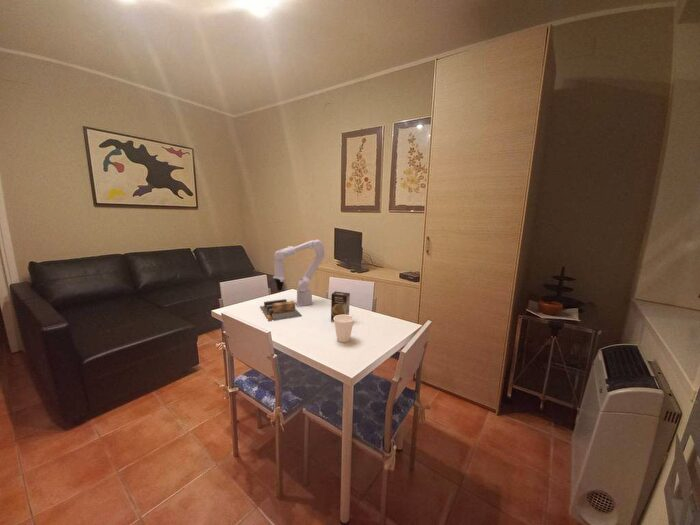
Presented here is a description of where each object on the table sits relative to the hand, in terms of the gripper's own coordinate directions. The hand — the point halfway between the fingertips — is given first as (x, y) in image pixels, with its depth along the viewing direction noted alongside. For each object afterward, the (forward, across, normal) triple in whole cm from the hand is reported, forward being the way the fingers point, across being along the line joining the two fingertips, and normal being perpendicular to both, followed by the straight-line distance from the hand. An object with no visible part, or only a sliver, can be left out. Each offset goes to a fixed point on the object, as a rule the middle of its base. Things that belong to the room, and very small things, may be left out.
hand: (279, 290), depth 179 cm
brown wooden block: (+9, +20, -2) cm, 22 cm away
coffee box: (+10, +40, +24) cm, 48 cm away
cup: (+10, +62, +15) cm, 65 cm away
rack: (+10, +12, -3) cm, 16 cm away
